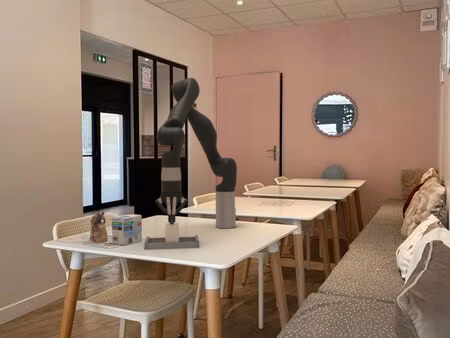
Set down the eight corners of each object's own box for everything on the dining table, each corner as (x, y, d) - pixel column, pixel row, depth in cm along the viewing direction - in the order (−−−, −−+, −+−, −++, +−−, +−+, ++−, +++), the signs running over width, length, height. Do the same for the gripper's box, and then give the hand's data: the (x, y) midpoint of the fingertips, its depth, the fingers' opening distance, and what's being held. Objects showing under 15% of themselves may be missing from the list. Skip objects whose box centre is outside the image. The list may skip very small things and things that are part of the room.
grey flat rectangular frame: (197, 241, 176) (197, 235, 175) (199, 247, 164) (199, 241, 164) (146, 242, 173) (146, 236, 173) (144, 249, 162) (144, 242, 161)
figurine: (88, 240, 179) (87, 211, 179) (106, 239, 182) (105, 210, 181) (90, 243, 173) (89, 213, 172) (108, 242, 175) (108, 212, 175)
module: (178, 243, 173) (178, 223, 173) (179, 247, 165) (178, 226, 165) (165, 243, 172) (165, 223, 172) (165, 247, 164) (165, 226, 164)
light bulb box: (123, 245, 168) (123, 218, 168) (111, 244, 172) (110, 217, 171) (142, 241, 177) (142, 214, 177) (130, 239, 181) (130, 213, 180)
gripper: (188, 178, 172) (188, 222, 173) (154, 178, 171) (155, 222, 171) (188, 179, 165) (189, 225, 165) (153, 180, 163) (154, 225, 164)
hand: (171, 223), depth 168 cm, fingers closed
